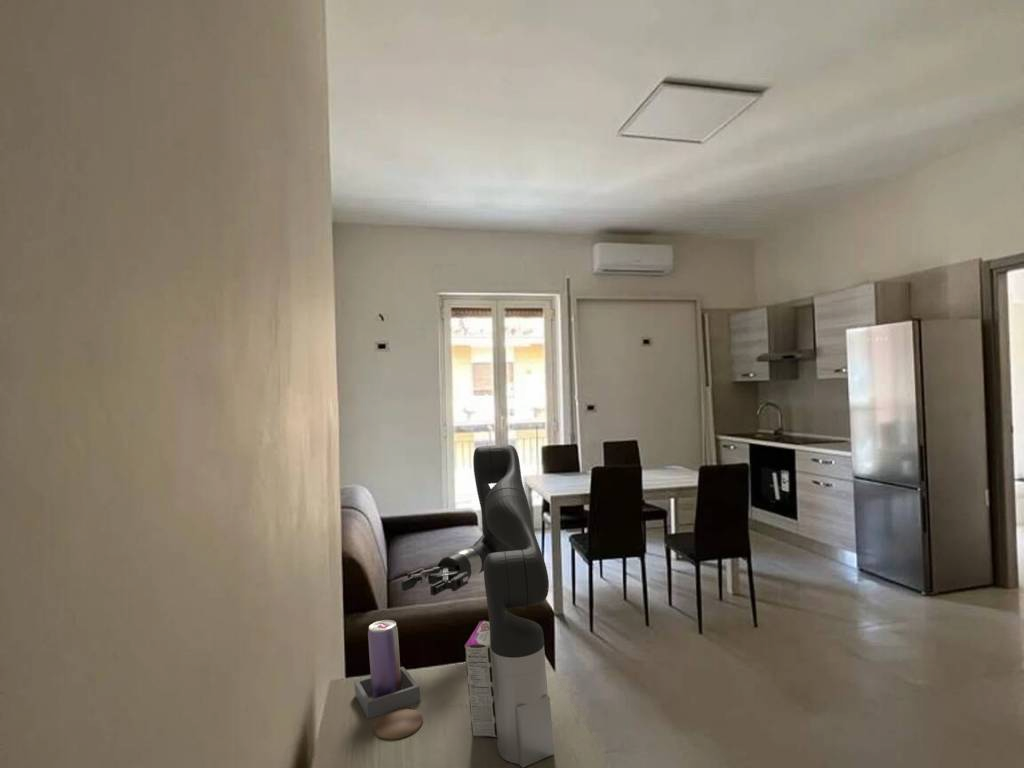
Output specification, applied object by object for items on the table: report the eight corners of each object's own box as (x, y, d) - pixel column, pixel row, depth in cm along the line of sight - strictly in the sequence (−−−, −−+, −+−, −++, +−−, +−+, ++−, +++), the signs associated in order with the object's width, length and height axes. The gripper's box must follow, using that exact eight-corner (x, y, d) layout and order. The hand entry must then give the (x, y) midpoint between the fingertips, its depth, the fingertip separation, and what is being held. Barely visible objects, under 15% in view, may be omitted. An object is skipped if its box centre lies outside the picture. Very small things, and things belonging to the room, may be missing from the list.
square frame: (420, 701, 114) (419, 686, 114) (368, 718, 109) (367, 703, 109) (404, 680, 123) (403, 666, 123) (355, 695, 118) (354, 681, 118)
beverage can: (386, 709, 112) (381, 632, 112) (366, 702, 115) (361, 628, 115) (408, 695, 117) (403, 622, 117) (387, 688, 120) (383, 617, 120)
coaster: (429, 728, 104) (429, 725, 104) (381, 745, 99) (381, 742, 100) (413, 706, 112) (413, 704, 112) (368, 722, 107) (368, 719, 107)
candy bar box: (485, 703, 111) (479, 619, 111) (510, 704, 110) (504, 620, 110) (470, 737, 100) (463, 644, 101) (497, 739, 99) (490, 644, 100)
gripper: (436, 549, 144) (392, 569, 130) (482, 554, 136) (440, 575, 122) (438, 579, 143) (394, 601, 130) (484, 585, 136) (443, 610, 122)
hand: (417, 588), depth 126 cm, fingers open, 8 cm apart
